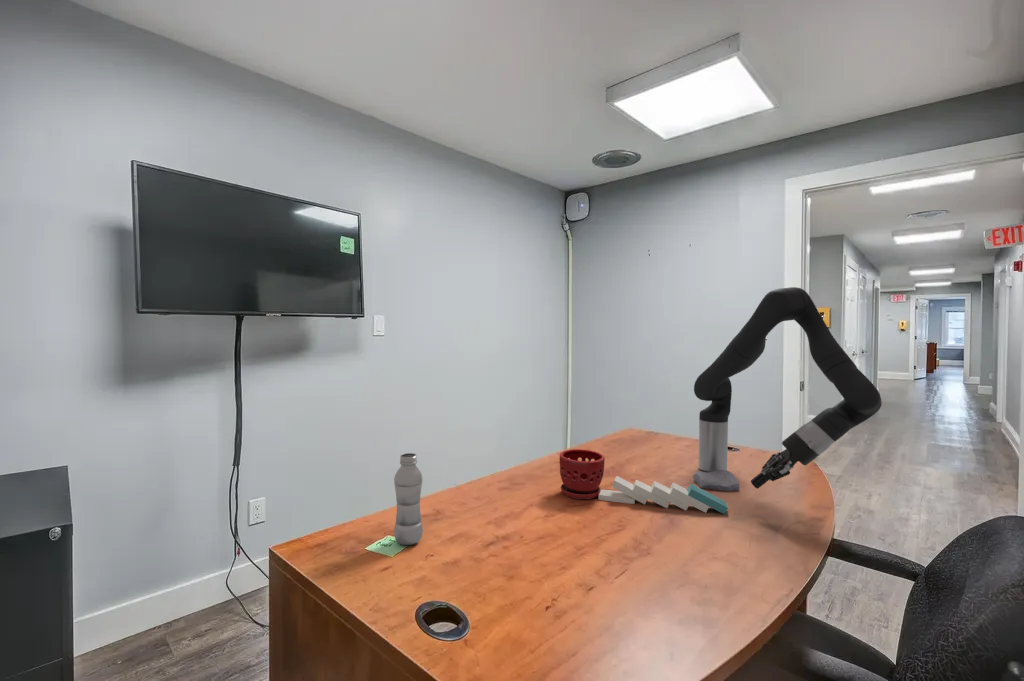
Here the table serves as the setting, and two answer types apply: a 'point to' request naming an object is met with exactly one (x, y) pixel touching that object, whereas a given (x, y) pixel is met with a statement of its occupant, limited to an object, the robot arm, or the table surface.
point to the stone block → (717, 480)
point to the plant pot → (581, 473)
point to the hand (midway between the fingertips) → (753, 485)
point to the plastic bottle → (408, 501)
